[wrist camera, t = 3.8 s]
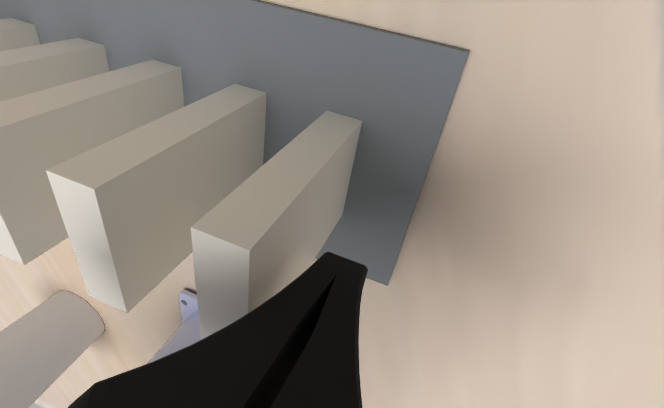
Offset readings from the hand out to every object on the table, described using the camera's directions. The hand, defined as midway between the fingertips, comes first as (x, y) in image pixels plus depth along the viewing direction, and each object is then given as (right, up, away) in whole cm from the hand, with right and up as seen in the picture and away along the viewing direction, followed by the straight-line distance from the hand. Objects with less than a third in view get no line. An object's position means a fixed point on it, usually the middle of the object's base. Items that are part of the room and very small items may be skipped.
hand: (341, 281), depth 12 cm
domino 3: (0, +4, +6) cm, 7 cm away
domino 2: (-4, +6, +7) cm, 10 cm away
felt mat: (-11, +8, +8) cm, 16 cm away
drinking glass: (-25, -8, +25) cm, 36 cm away
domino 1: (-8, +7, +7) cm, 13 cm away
